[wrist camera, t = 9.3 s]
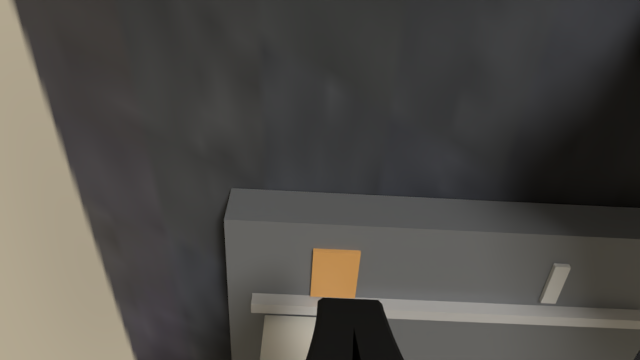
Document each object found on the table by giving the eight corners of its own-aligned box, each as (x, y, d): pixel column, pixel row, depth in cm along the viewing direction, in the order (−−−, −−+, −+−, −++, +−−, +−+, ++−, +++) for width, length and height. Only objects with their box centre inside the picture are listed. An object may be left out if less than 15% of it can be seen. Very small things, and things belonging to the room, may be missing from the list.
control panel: (675, 209, 22) (713, 253, 20) (567, 411, 30) (586, 457, 28) (231, 188, 22) (221, 229, 19) (240, 398, 30) (234, 444, 27)
